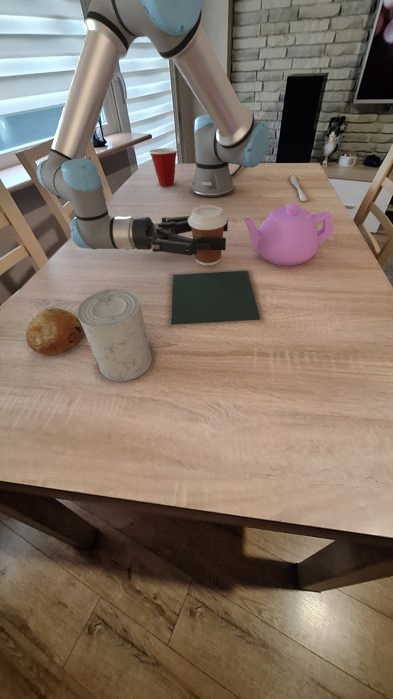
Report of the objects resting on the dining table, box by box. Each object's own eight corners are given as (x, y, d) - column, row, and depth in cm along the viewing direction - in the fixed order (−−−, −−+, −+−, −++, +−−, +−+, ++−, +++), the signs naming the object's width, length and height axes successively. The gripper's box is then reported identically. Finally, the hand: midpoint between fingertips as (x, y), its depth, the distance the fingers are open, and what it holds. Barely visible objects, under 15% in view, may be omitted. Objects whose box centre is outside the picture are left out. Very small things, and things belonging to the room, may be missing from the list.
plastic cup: (182, 179, 124) (179, 144, 116) (178, 188, 117) (175, 152, 108) (156, 179, 125) (151, 145, 117) (150, 188, 118) (145, 153, 109)
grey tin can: (160, 347, 57) (150, 293, 48) (137, 386, 50) (121, 333, 42) (116, 337, 59) (98, 284, 50) (88, 374, 53) (63, 320, 44)
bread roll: (56, 335, 66) (25, 310, 60) (92, 315, 63) (63, 288, 58) (43, 369, 59) (7, 345, 54) (84, 349, 56) (50, 321, 51)
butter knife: (299, 200, 101) (308, 199, 101) (288, 175, 120) (296, 175, 120) (298, 202, 102) (308, 201, 101) (288, 177, 121) (296, 176, 120)
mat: (173, 275, 74) (173, 274, 73) (247, 271, 73) (247, 270, 73) (171, 324, 61) (171, 323, 61) (260, 319, 61) (260, 318, 61)
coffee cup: (185, 254, 79) (181, 207, 70) (217, 247, 81) (217, 200, 72) (198, 271, 73) (196, 222, 64) (232, 263, 75) (234, 214, 66)
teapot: (317, 237, 84) (329, 190, 75) (336, 266, 73) (352, 216, 65) (238, 241, 84) (241, 195, 76) (245, 271, 74) (249, 221, 65)
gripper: (147, 229, 85) (228, 229, 82) (126, 270, 70) (223, 272, 67) (143, 201, 79) (229, 200, 77) (118, 239, 64) (224, 240, 62)
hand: (226, 234), depth 72 cm, fingers closed on coffee cup, 9 cm apart
